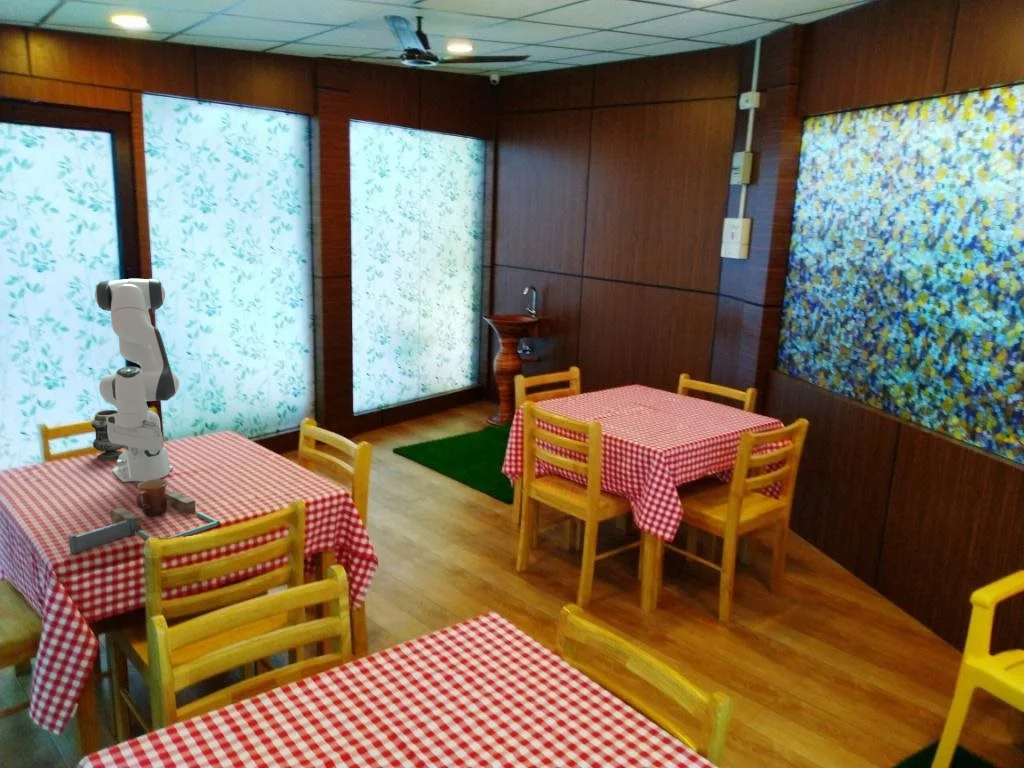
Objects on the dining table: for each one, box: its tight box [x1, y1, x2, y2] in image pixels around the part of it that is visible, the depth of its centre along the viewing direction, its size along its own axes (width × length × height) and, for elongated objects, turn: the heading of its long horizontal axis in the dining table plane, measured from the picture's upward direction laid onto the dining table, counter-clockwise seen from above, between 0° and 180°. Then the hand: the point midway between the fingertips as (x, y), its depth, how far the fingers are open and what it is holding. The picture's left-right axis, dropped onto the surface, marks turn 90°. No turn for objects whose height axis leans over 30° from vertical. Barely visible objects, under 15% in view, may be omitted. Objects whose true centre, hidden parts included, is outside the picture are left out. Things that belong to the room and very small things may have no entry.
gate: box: [67, 516, 137, 554], centre depth 232 cm, size 2×18×5 cm, turn 142°
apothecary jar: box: [90, 409, 125, 461], centre depth 307 cm, size 12×12×18 cm
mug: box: [135, 478, 168, 518], centre depth 252 cm, size 12×9×10 cm
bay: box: [137, 511, 221, 539], centre depth 243 cm, size 12×20×1 cm, turn 142°
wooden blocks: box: [110, 490, 197, 532], centre depth 252 cm, size 13×21×4 cm, turn 142°
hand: (137, 459), depth 253 cm, fingers closed
